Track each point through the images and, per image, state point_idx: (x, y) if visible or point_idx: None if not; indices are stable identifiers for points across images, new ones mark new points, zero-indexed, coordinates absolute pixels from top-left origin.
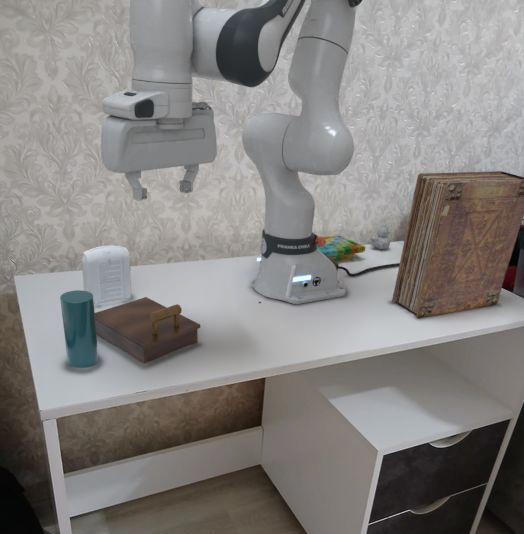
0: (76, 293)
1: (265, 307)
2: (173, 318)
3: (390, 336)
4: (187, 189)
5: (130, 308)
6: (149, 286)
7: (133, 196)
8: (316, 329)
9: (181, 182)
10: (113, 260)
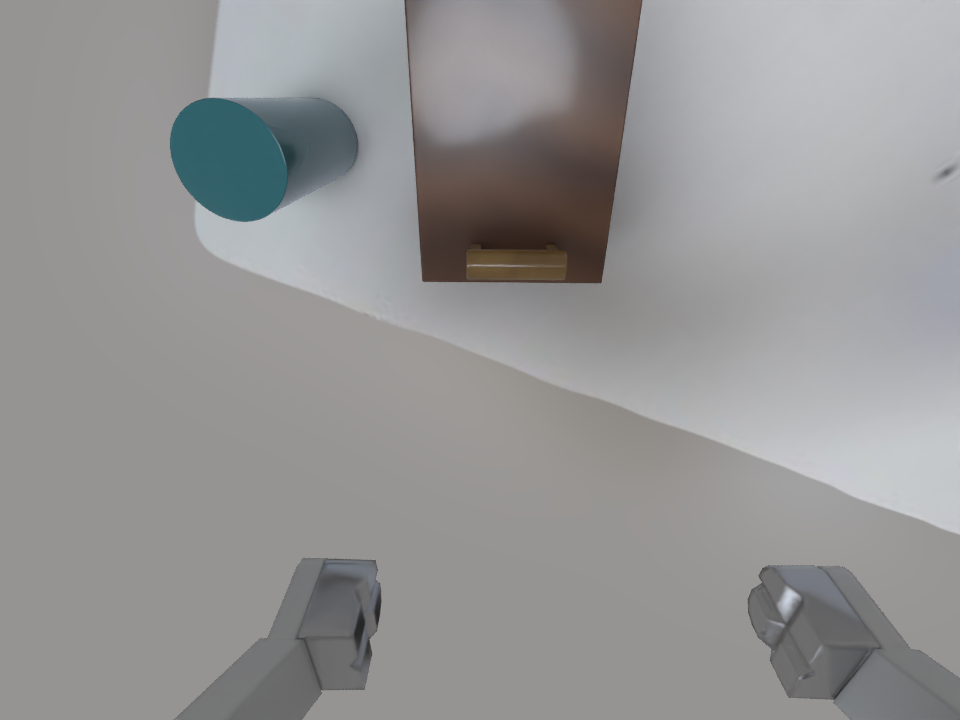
0: (236, 137)
1: (914, 210)
2: (577, 208)
3: (885, 476)
4: (769, 638)
5: (530, 45)
6: None
7: (299, 572)
8: (838, 374)
9: (806, 651)
10: None
